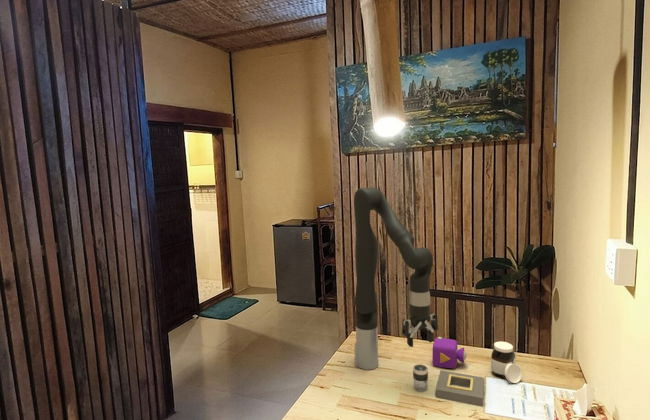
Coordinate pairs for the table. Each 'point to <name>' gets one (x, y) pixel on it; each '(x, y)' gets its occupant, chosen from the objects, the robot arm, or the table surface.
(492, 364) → the spread jar
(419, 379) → the lens
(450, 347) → the toy camera
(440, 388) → the mount plate
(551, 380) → the table surface
